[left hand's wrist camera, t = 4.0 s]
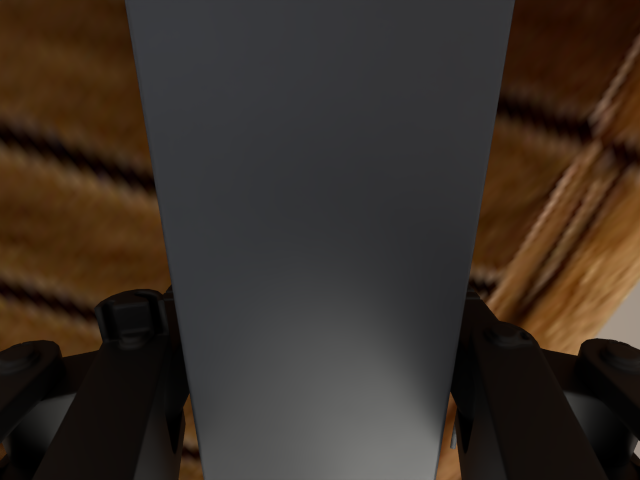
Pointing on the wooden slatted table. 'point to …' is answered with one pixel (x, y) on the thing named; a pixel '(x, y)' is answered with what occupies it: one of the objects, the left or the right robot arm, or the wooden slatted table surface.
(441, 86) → the bar
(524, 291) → the wooden slatted table surface
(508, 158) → the wooden slatted table surface
